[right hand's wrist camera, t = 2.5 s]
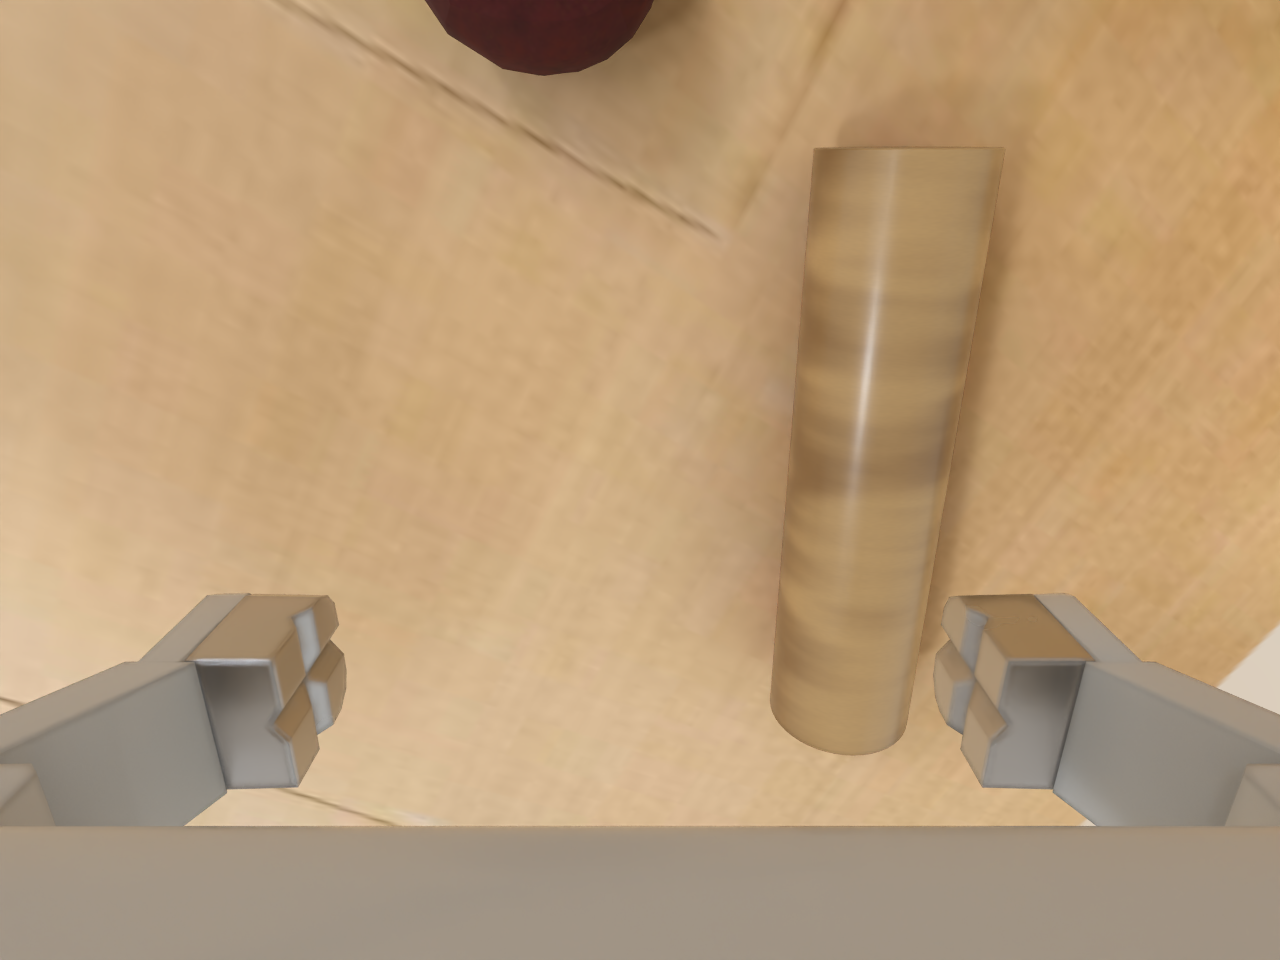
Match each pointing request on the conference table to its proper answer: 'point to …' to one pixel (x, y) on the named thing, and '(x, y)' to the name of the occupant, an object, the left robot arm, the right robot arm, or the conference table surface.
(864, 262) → the rod
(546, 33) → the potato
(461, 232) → the conference table surface
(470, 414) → the conference table surface
